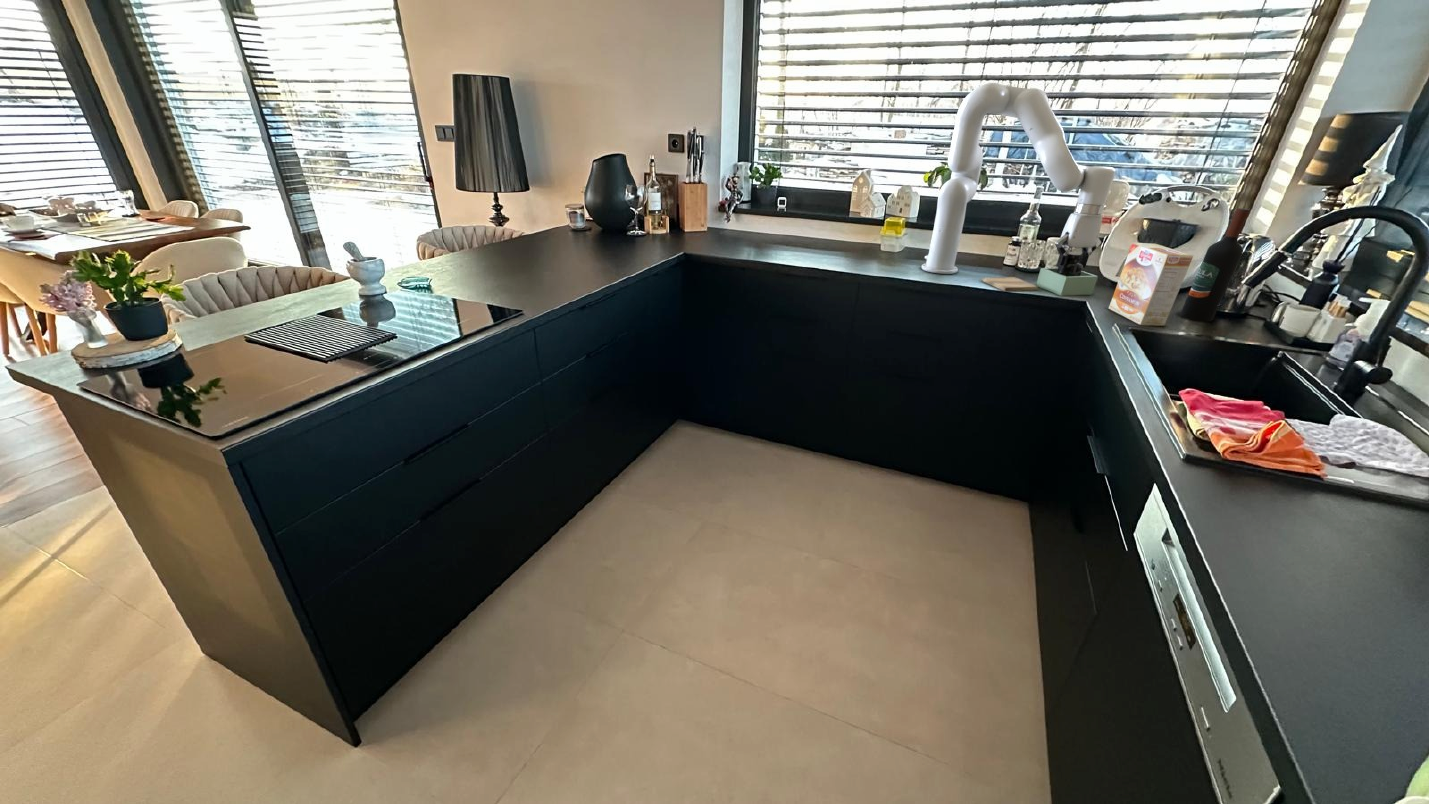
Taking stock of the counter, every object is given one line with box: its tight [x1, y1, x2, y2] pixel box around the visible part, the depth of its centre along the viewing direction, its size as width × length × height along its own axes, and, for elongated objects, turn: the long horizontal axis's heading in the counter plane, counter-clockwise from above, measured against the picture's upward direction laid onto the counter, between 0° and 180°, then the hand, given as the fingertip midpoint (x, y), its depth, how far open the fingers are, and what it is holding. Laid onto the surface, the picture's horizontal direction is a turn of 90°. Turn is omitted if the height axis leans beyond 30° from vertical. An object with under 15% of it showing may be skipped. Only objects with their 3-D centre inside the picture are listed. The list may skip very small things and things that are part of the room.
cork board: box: [982, 276, 1039, 292], centre depth 187 cm, size 12×12×1 cm
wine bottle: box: [1179, 207, 1251, 323], centre depth 154 cm, size 8×8×30 cm
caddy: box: [1035, 267, 1099, 297], centre depth 182 cm, size 12×12×6 cm
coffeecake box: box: [1108, 242, 1194, 327], centre depth 155 cm, size 15×7×20 cm, turn 178°
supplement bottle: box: [1057, 251, 1084, 277], centre depth 181 cm, size 7×7×12 cm
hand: (1070, 266), depth 180 cm, fingers closed on supplement bottle, 6 cm apart
